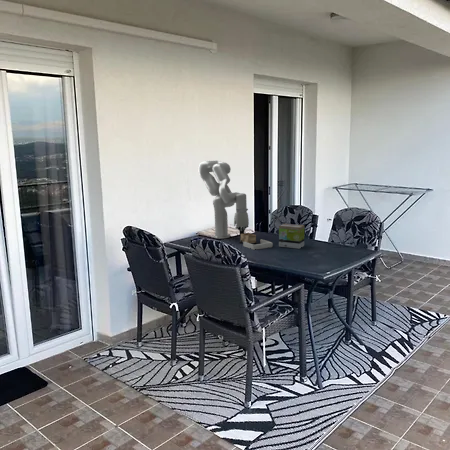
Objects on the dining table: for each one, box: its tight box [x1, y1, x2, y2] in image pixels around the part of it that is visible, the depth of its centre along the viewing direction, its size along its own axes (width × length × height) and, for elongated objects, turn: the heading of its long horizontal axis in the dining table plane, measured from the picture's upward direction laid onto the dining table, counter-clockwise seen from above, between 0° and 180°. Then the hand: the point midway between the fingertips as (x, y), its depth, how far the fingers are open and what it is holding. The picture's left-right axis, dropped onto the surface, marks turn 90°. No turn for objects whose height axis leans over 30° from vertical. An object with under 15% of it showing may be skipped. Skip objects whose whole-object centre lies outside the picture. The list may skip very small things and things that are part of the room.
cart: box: [239, 232, 258, 245], centre depth 329 cm, size 10×8×6 cm
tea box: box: [278, 223, 305, 250], centre depth 316 cm, size 15×10×15 cm, turn 62°
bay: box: [242, 239, 274, 251], centre depth 319 cm, size 14×15×3 cm
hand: (241, 236), depth 336 cm, fingers closed
